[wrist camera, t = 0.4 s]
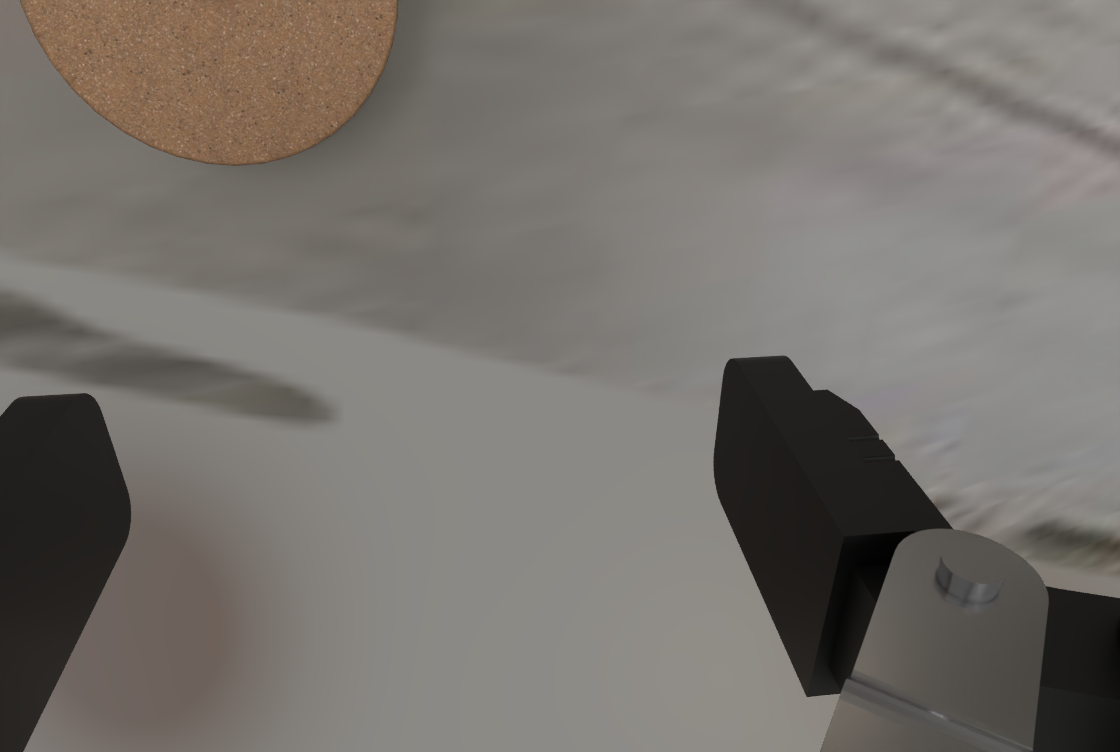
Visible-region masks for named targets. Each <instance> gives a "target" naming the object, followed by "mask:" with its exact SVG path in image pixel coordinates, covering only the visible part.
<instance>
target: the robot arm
mask: <svg viewBox="0 0 1120 752" xmlns="http://www.w3.org/2000/svg"><path fill="white" fill-rule="evenodd" d="M714 478H715V484H716V490H717V493H718V497H719V499H720V502H721V505H722V507H723V509H724V511H725V513H726V516H727V518H728V520H729V523H730V525H731V527H732V529H733V532H734V534H735V536H736V538H737V541H738V543H739V545H740V547H741V550H742V552H743V554H744V556H745V559H746V561H747V563H748V565H749V568H750V570H751V572H752V574H753V576H754V579H755V581H756V583H757V586H758V588H759V590H760V593H761V595H762V597H763V599H764V601H765V604H766V606H767V608H768V610H769V613H770V615H771V617H772V620H773V622H774V624H775V626H776V629H777V631H778V633H779V635H780V638H781V640H782V642H783V644H784V647H785V649H786V651H787V653H788V656H789V658H790V660H791V662H792V665H793V667H794V669H795V671H796V674H797V676H798V678H799V680H800V682H801V685H802V687H803V689H804V692H805V694H806V696H807V697H811V696H820V695H831V694H840V696H839V699H838V702H837V705H836V707H835V710H834V713H833V716H832V719H831V722H830V724H829V727H828V730H827V733H826V736H825V738H824V741H823V744H822V747H821V750H820V752H1120V598H1114V597H1108V596H1102V595H1095V594H1089V593H1082V592H1076V591H1068V590H1063V589H1057V588H1052V587H1047V586H1045V584H1044V582H1043V580H1042V579H1041V577H1040V576H1039V574H1038V573H1037V572H1036V570H1035V569H1034V568H1033V567H1032V566H1031V565H1030V564H1029V563H1028V562H1027V561H1026V560H1024V559H1023V558H1022V557H1020V556H1019V555H1018V554H1016V553H1015V552H1014V551H1012V550H1010V549H1009V548H1007V547H1005V546H1004V545H1002V544H999V543H997V542H995V541H993V540H991V539H988V538H986V537H983V536H980V535H977V534H974V533H970V532H966V531H960V530H954V529H953V528H952V527H951V526H950V524H949V523H948V522H947V521H946V519H945V518H944V517H943V516H942V514H941V513H940V512H939V511H938V509H937V508H936V507H935V505H934V504H933V503H932V502H931V500H930V499H929V498H928V497H927V495H926V494H925V493H924V491H923V490H922V489H921V488H920V486H919V485H918V484H917V483H916V481H915V480H914V479H913V478H912V476H911V475H910V474H909V472H908V471H907V470H906V469H905V467H904V466H903V465H902V464H901V462H900V461H899V460H897V461H895V455H894V453H893V452H892V451H891V450H890V448H889V447H888V446H887V445H886V443H885V442H884V441H883V440H879V434H878V433H877V432H876V431H875V429H874V428H873V427H872V425H871V424H870V423H869V422H868V420H867V419H866V418H865V417H864V415H863V414H862V413H861V412H860V410H859V409H857V408H855V407H854V406H852V405H851V404H849V403H848V402H846V401H844V400H843V399H841V398H840V397H838V396H837V395H835V394H833V393H832V392H830V391H829V390H815V391H813V390H812V388H811V387H810V386H809V384H808V383H807V382H806V380H805V379H804V377H803V376H802V375H801V373H800V372H799V371H798V369H797V368H796V366H795V365H794V364H793V362H792V361H791V360H790V359H789V358H788V357H787V356H768V357H750V358H733V359H730V360H729V361H728V362H727V364H726V366H725V369H724V374H723V381H722V390H721V398H720V406H719V415H718V423H717V432H716V440H715V448H714ZM130 523H131V505H130V498H129V493H128V490H127V487H126V484H125V481H124V478H123V475H122V472H121V469H120V466H119V463H118V460H117V456H116V453H115V451H114V447H113V444H112V442H111V438H110V436H109V432H108V430H107V426H106V424H105V421H104V417H103V415H102V412H101V409H100V407H99V405H98V403H97V402H96V400H95V399H94V398H93V397H92V396H91V395H89V394H86V393H81V394H63V395H46V396H27V397H20V398H18V399H16V400H14V401H13V402H12V403H11V405H10V406H9V407H8V408H7V409H6V410H5V412H4V413H3V414H2V415H1V416H0V752H23V751H24V749H25V747H26V745H27V743H28V741H29V739H30V736H31V735H32V733H33V731H34V728H35V726H36V724H37V722H38V720H39V718H40V716H41V714H42V712H43V710H44V708H45V706H46V704H47V702H48V700H49V698H50V696H51V694H52V692H53V690H54V688H55V686H56V684H57V682H58V680H59V678H60V676H61V674H62V671H63V670H64V667H65V665H66V663H67V661H68V659H69V657H70V655H71V653H72V651H73V649H74V647H75V645H76V643H77V641H78V639H79V637H80V635H81V633H82V631H83V629H84V627H85V625H86V623H87V621H88V619H89V617H90V615H91V612H92V611H93V609H94V606H95V604H96V602H97V600H98V598H99V596H100V594H101V592H102V590H103V588H104V586H105V584H106V582H107V580H108V578H109V576H110V574H111V572H112V570H113V568H114V566H115V564H116V562H117V560H118V558H119V556H120V554H121V552H122V550H123V548H124V546H125V543H126V541H127V538H128V535H129V530H130Z"/></svg>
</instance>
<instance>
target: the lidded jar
mask: <svg viewBox="0 0 1120 752" xmlns="http://www.w3.org/2000/svg"><path fill="white" fill-rule="evenodd" d="M20 2H21V5H22V8H23V10H24V12H25V14H26V17H27V19H28V21H29V24H30V26H31V28H32V30H33V33H34V35H35V37H36V38H37V40H38V42H39V43H40V45H41V47H42V48H43V50H44V52H45V53H46V55H47V57H48V58H49V60H50V61H51V63H52V65H53V66H54V67H55V68H56V70H57V71H58V72H59V73H60V74H61V76H62V77H63V78H64V79H65V81H66V82H67V83H68V84H69V86H70V87H71V88H72V89H73V90H74V91H75V92H76V93H77V94H78V95H79V96H80V97H81V98H82V99H83V100H84V101H85V102H86V103H87V104H88V105H89V106H90V107H91V108H92V109H94V110H95V111H96V112H97V113H98V114H99V115H101V116H102V117H103V118H105V119H106V120H108V121H109V122H110V123H112V124H113V125H115V126H116V127H117V128H119V129H120V130H121V131H123V132H125V133H126V134H128V135H130V136H132V137H134V138H136V139H137V140H139V141H141V142H143V143H145V144H147V145H149V146H150V147H153V148H156V149H158V150H161V151H164V152H166V153H169V154H172V155H174V156H177V157H181V158H185V159H189V160H194V161H198V162H203V163H208V164H222V165H248V164H261V163H266V162H270V161H274V160H279V159H283V158H287V157H290V156H292V155H295V154H297V153H299V152H302V151H304V150H307V149H309V148H311V147H313V146H315V145H317V144H318V143H320V142H321V141H323V140H324V139H326V138H327V137H329V136H331V135H332V134H334V133H335V132H336V131H337V130H339V129H340V128H341V127H342V126H343V125H344V124H345V123H346V122H347V121H348V120H349V119H351V118H352V117H353V116H354V115H355V114H356V112H357V111H358V110H359V108H360V107H361V106H362V105H363V103H364V102H365V101H366V99H367V98H368V97H369V96H370V94H371V92H372V91H373V89H374V87H375V85H376V83H377V81H378V80H379V78H380V76H381V74H382V72H383V70H384V67H385V65H386V62H387V59H388V56H389V53H390V50H391V47H392V44H393V39H394V33H395V28H396V22H397V16H398V0H20Z"/></svg>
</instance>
